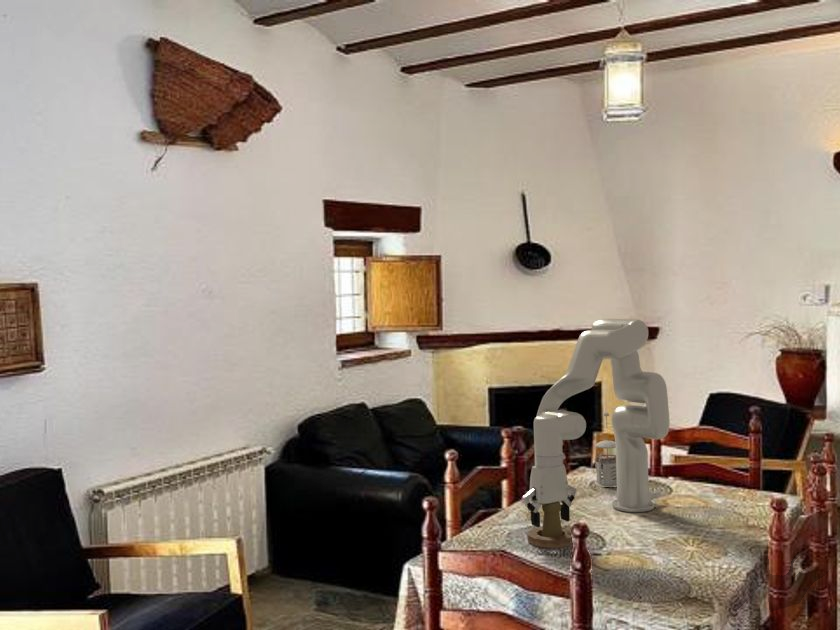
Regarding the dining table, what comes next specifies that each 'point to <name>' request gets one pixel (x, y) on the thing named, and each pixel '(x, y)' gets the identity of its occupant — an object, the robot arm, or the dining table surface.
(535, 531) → the bead ring
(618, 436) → the robot arm
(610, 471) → the french press
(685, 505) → the dining table surface
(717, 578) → the dining table surface
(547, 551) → the dining table surface
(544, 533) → the cork
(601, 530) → the dining table surface
